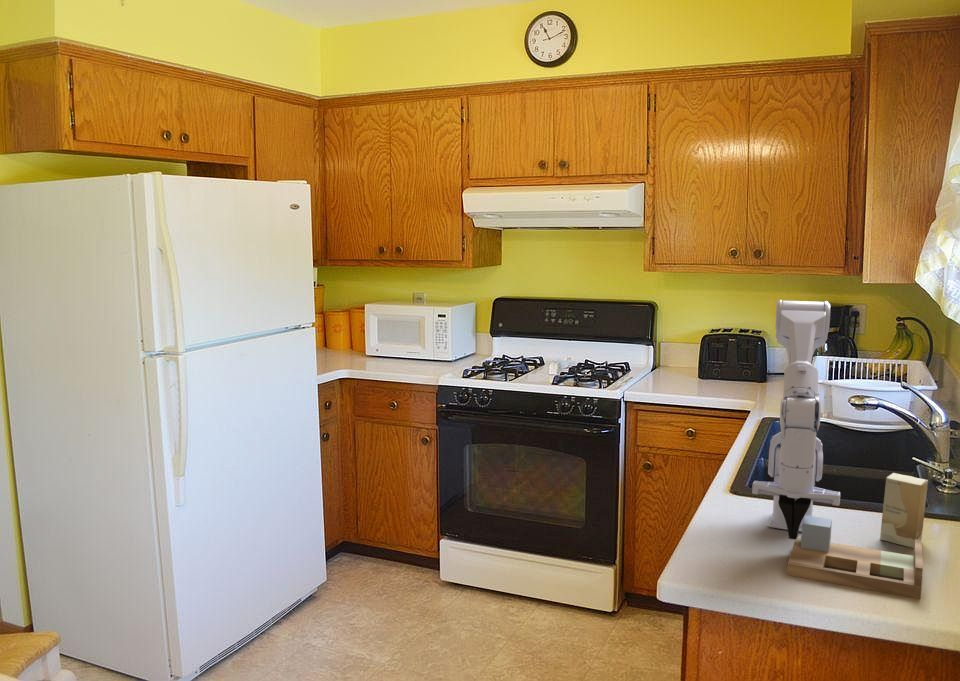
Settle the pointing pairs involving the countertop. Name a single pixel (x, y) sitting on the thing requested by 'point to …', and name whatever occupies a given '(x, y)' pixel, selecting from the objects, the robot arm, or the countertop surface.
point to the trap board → (860, 567)
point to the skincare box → (903, 509)
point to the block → (816, 533)
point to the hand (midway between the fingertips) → (793, 537)
